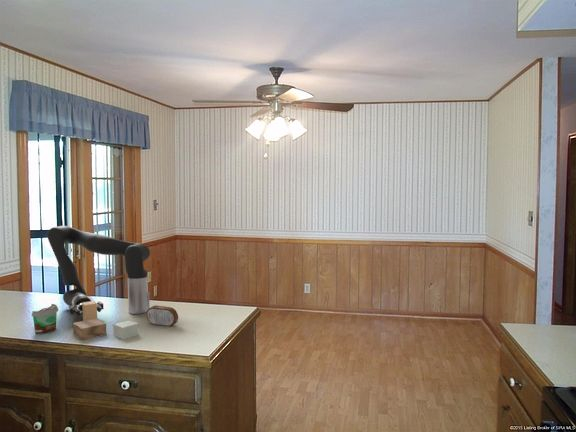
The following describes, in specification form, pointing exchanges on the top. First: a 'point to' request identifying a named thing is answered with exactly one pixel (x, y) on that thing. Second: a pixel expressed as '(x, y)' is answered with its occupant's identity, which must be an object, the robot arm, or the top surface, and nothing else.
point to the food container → (45, 319)
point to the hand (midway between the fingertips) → (89, 311)
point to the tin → (162, 315)
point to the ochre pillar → (89, 310)
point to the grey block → (125, 329)
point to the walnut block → (89, 329)
